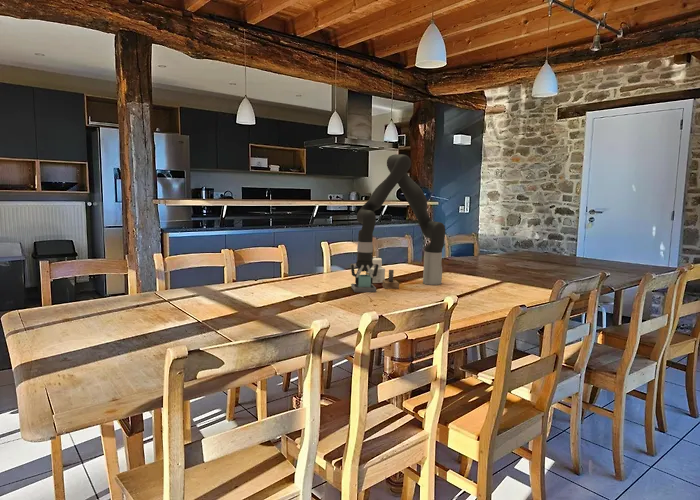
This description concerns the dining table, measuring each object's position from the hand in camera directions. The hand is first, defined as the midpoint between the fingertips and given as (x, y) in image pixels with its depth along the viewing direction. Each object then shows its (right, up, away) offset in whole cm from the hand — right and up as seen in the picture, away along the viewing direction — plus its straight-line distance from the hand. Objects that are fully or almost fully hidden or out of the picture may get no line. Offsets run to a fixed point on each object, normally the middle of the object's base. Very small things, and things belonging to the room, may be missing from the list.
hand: (363, 284), depth 236 cm
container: (+7, 0, +22) cm, 23 cm away
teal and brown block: (+14, -2, +8) cm, 16 cm away
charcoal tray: (0, -3, 0) cm, 3 cm away
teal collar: (0, -1, 0) cm, 0 cm away
